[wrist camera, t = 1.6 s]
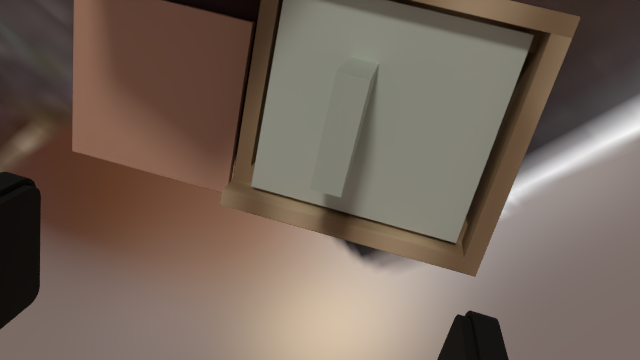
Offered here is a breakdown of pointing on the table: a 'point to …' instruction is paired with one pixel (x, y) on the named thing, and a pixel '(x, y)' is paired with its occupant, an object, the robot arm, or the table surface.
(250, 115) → the oak box
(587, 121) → the table surface
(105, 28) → the terracotta tile
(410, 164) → the cover plate
